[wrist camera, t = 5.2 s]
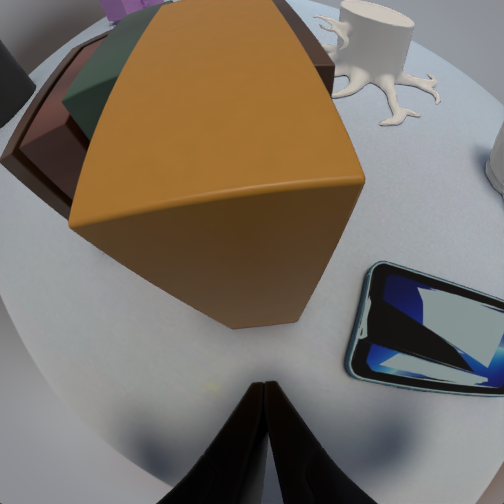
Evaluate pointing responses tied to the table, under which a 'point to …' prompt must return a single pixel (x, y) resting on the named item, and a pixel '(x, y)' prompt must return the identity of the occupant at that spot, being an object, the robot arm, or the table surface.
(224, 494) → the robot arm
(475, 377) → the smartphone
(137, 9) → the teapot
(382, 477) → the table surface
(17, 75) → the vase
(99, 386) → the table surface
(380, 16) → the tree stump
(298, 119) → the ochre book
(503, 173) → the cup
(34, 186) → the bookshelf
